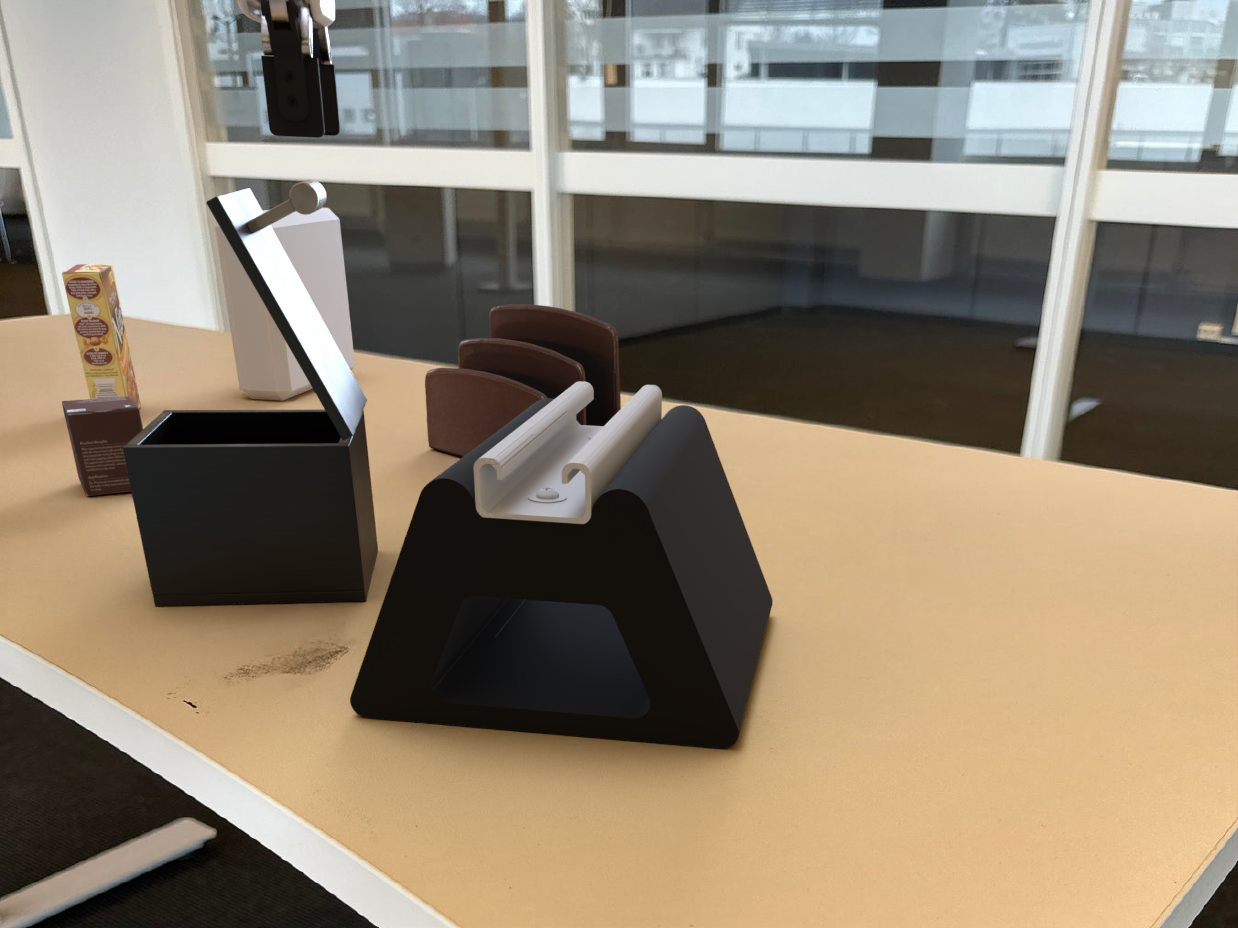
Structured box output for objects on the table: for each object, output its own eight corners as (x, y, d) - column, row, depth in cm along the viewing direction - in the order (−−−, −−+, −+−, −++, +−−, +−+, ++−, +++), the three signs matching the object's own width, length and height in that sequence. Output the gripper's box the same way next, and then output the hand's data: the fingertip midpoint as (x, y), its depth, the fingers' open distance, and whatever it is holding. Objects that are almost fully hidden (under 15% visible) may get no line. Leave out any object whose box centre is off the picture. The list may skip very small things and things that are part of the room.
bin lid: (205, 201, 74) (288, 156, 73) (239, 192, 84) (312, 152, 84) (342, 441, 82) (419, 402, 81) (358, 404, 93) (426, 370, 92)
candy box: (132, 421, 138) (102, 270, 130) (92, 422, 137) (60, 270, 129) (142, 406, 146) (114, 262, 138) (104, 407, 145) (74, 262, 137)
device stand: (771, 615, 87) (787, 391, 79) (737, 750, 68) (753, 473, 60) (466, 593, 90) (451, 374, 82) (352, 716, 71) (318, 447, 63)
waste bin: (154, 606, 86) (122, 447, 80) (190, 553, 97) (163, 409, 91) (366, 601, 88) (348, 445, 82) (378, 550, 98) (363, 408, 93)
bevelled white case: (304, 371, 168) (283, 205, 158) (359, 374, 167) (341, 207, 156) (228, 398, 151) (199, 214, 140) (289, 402, 149) (264, 216, 139)
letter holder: (501, 436, 136) (494, 295, 128) (623, 468, 124) (624, 316, 116) (427, 449, 129) (415, 302, 122) (548, 484, 118) (543, 324, 110)
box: (147, 476, 117) (131, 395, 113) (156, 491, 113) (140, 407, 109) (78, 482, 115) (60, 399, 111) (85, 497, 110) (66, 412, 106)
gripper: (229, -192, 76) (266, 131, 85) (170, -265, 61) (222, 134, 70) (353, -183, 77) (376, 136, 86) (324, -253, 62) (356, 139, 71)
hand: (307, 135), depth 78 cm, fingers open, 9 cm apart
